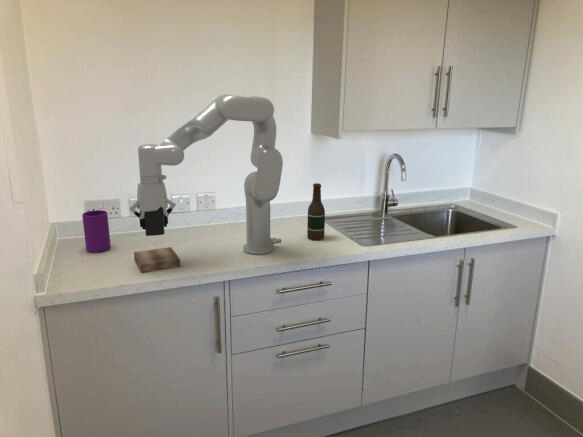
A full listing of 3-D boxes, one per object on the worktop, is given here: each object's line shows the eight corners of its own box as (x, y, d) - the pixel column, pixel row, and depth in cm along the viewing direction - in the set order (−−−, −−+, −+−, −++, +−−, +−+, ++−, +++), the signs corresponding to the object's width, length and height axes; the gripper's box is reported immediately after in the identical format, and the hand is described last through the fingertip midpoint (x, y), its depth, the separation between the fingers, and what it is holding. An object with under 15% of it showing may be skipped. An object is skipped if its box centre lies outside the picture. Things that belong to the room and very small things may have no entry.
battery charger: (164, 231, 183) (162, 202, 180) (165, 235, 180) (163, 204, 176) (144, 233, 181) (142, 203, 178) (145, 236, 177) (143, 206, 174)
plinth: (171, 254, 192) (171, 247, 192) (180, 266, 180) (179, 259, 180) (134, 259, 186) (133, 252, 186) (141, 272, 174) (140, 265, 174)
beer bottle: (304, 239, 211) (305, 184, 204) (310, 234, 218) (311, 181, 211) (321, 242, 208) (323, 186, 202) (326, 236, 215) (328, 183, 208)
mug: (87, 254, 191) (82, 217, 187) (84, 242, 205) (80, 207, 200) (112, 251, 195) (108, 214, 191) (107, 239, 208) (104, 205, 204)
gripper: (173, 175, 181) (175, 221, 186) (124, 179, 174) (127, 227, 179) (178, 179, 175) (180, 227, 180) (127, 183, 167) (131, 233, 172)
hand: (154, 227), depth 179 cm, fingers closed on battery charger, 7 cm apart
